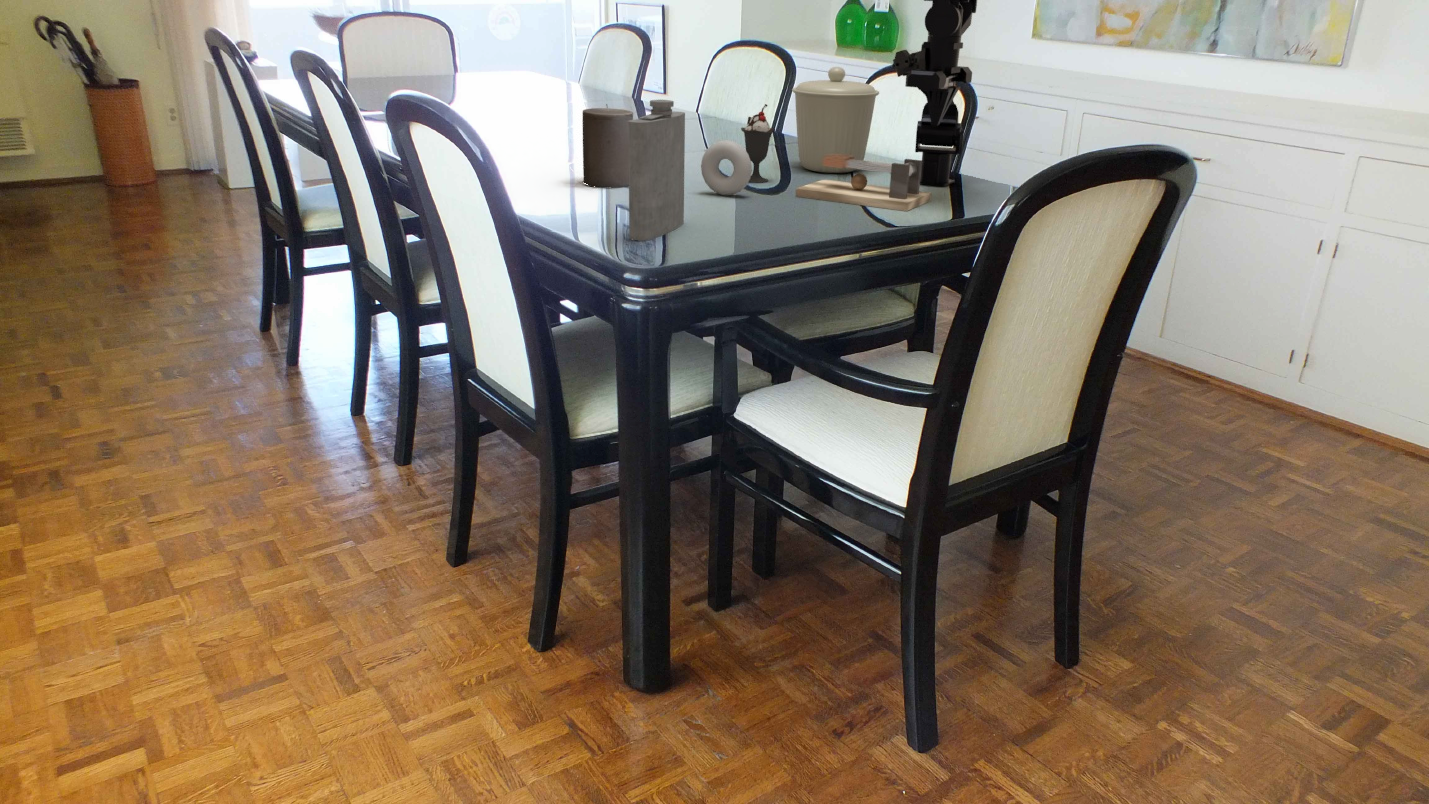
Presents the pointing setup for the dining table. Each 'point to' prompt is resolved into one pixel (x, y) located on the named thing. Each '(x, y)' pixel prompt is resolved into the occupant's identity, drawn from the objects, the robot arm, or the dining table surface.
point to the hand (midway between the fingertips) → (935, 125)
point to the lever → (861, 164)
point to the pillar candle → (606, 147)
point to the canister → (833, 119)
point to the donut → (738, 160)
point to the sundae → (757, 142)
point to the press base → (873, 190)
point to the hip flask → (656, 171)
